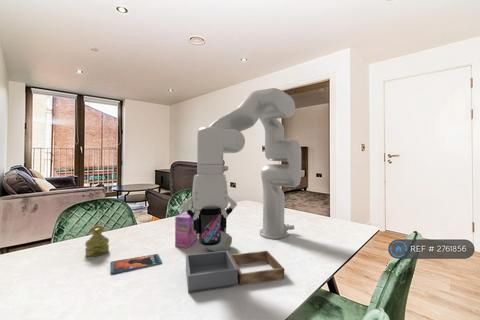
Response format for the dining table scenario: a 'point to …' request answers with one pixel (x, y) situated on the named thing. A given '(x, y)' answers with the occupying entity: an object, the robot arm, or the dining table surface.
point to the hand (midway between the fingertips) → (209, 230)
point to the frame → (258, 276)
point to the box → (184, 230)
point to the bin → (210, 271)
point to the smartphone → (134, 263)
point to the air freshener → (221, 243)
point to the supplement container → (209, 226)
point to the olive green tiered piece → (97, 242)
